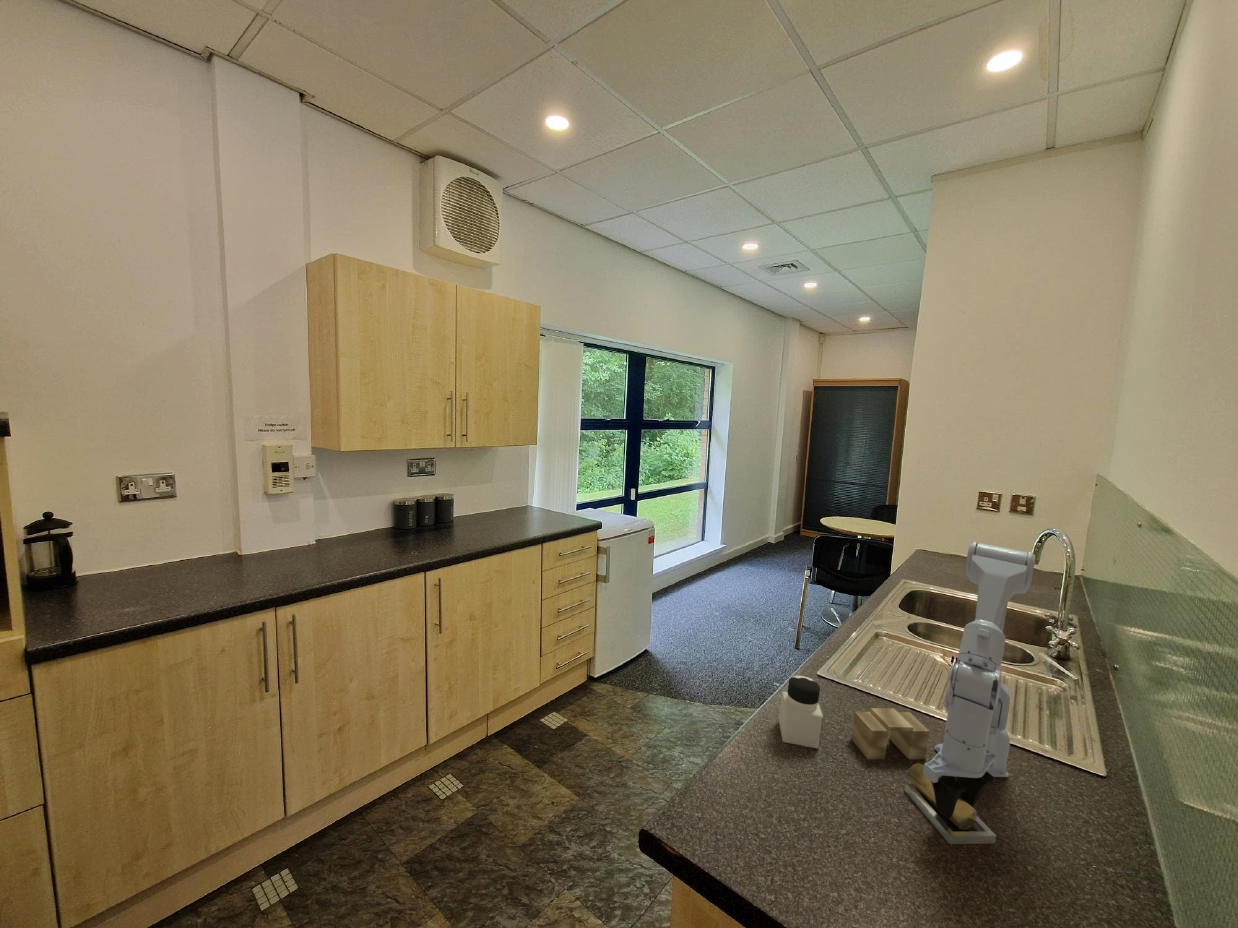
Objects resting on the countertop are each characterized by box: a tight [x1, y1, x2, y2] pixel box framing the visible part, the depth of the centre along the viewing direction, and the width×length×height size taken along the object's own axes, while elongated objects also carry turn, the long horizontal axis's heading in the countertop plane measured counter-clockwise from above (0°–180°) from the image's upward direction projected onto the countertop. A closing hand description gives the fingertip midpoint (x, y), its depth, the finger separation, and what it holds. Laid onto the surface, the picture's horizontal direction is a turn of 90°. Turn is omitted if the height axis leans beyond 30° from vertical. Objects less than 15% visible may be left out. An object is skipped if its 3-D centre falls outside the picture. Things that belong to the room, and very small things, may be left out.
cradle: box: [904, 783, 997, 845], centre depth 84 cm, size 8×11×1 cm
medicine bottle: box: [778, 675, 824, 750], centre depth 102 cm, size 7×7×12 cm
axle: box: [906, 762, 978, 831], centre depth 85 cm, size 10×4×4 cm, turn 16°
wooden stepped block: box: [850, 707, 930, 760], centre depth 100 cm, size 12×6×7 cm, turn 95°
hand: (953, 810), depth 83 cm, fingers closed on axle, 4 cm apart
